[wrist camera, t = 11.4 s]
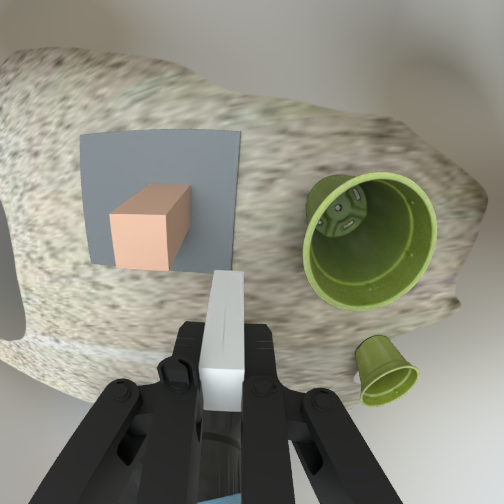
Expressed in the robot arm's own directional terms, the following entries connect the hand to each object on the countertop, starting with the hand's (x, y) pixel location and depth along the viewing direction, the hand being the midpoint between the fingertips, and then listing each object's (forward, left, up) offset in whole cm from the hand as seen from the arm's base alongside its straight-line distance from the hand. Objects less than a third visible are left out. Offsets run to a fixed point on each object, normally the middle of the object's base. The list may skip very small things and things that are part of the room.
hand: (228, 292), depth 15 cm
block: (0, +7, -16) cm, 17 cm away
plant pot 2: (-21, -23, -17) cm, 35 cm away
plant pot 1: (+1, -11, -17) cm, 20 cm away
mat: (0, +9, -16) cm, 19 cm away
